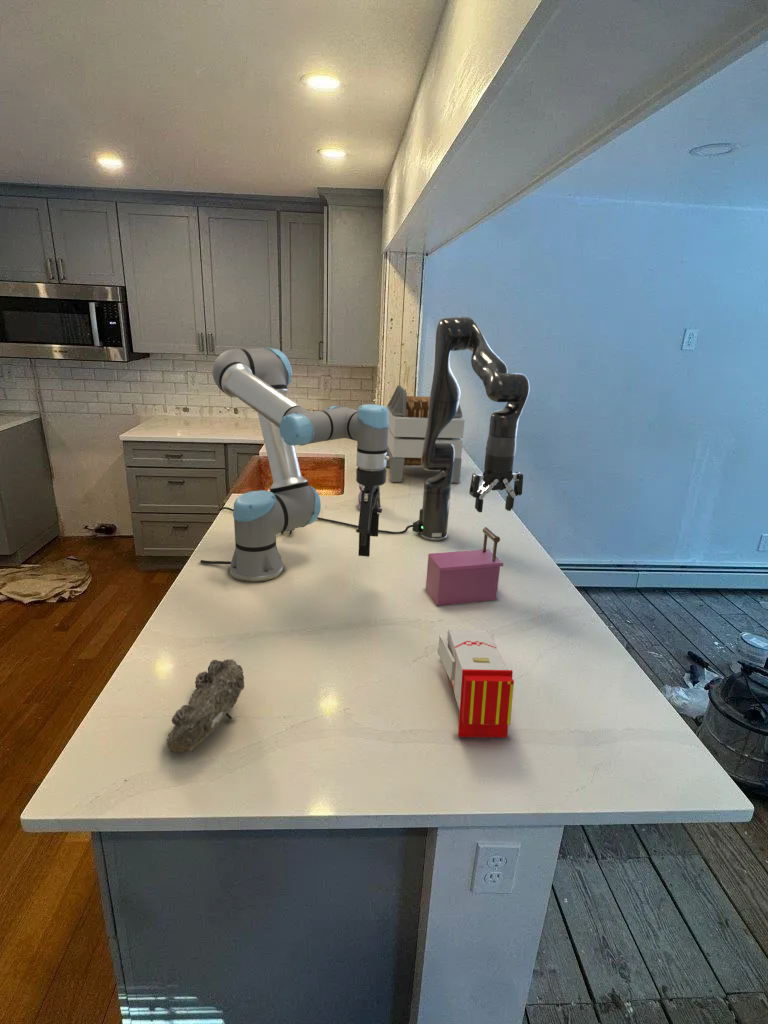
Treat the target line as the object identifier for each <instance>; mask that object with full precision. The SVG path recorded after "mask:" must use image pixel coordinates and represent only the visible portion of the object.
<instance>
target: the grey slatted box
mask: <svg viewBox="0 0 768 1024" xmlns="http://www.w3.org/2000/svg"><path fill="white" fill-rule="evenodd" d="M407 394H408V393H407V390H406V389H404V388H403V387H402V385H399V384H398V385H397V386H396V388H395V390H394V392H393V394H392V395H391V398H390V400H389V402H388V404H387V405H386V408H387V409H388V413H389V428H388V443H387V454H386V456H389V459H388V460H387V463H386V467H388V468H389V475H388V476H389V477H388V478H389V480H390V482H391V483H402V482H403V475H404V469H405V466H406V467H407V466H411V467H412V466H413V467H415V466H416V467H417V466H418V467H422V464H421V455H422V449H423V444H424V439H425V434H426V429H427V422H428V412H429V402H430V396H415V395H414V396H413V395H412V396H411V395H407ZM464 429H465V419H464V418H463V411H462V408H461V405H460V404H459V407H458V411H457V414H456V415H455V417H454V418H453V419H452V420H451V422H450V423H449V424H448V425H447V426H446V427H445V428H444V429H443V430H442V431H441V433H440V434H439V436H438V438H437V440H436V442H435V443H449V444H452V445H453V446H454V449H455V460H454V467H453V474H452V483H451V484H455V483H456V484H459V483H461V472H462V461H463V460H462V453H463V442H464V441H463V440H462V439H463V438H464V431H465V430H464ZM439 473H441V471H439Z"/></svg>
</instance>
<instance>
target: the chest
mask: <svg viewBox="0 0 768 1024" xmlns="http://www.w3.org/2000/svg"><path fill="white" fill-rule="evenodd" d="M500 572H501V567H490V568H478V569H466V570H454V571H442V572H440V571H439V570H438V568H437V567H436V566H435V565H434V564H433V562H432V561H431V560H430V559H429V557H428V556H427V568H426V581H425V591H426V592H427V593H428V595H429V597H430V598H431V599H432V601H433V602H434V603H435V605H436V606H437V607H439V606H449V605H458V604H466V603H467V604H468V603H477V602H486V601H487V602H489V601H496V600H497V595H498V587H499V580H500Z"/></svg>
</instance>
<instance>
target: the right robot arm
mask: <svg viewBox="0 0 768 1024" xmlns="http://www.w3.org/2000/svg"><path fill="white" fill-rule="evenodd" d="M467 350H469V351H471V352H472V353H471V356H470V364H471V365H470V366H471V368H472V370H473V372H474V373H475V375H477V377H478V378H479V379H480V380H481V381H482V384H483V387H484V389H485V393H486V397H488V399H490V401H492V402H494V403H506V404H505V406H504V407H503V408H502V409H498V410H496V411H493V412H492V413H491V414H490V419H489V429H488V437H487V441H486V447H485V456H484V465H483V466H484V468H483V469H484V471H483V473H482V474H477V473H475V472H473V473H472V474H471V479H470V485H469V486H470V487H469V492H468V493H469V495H470V496H472V498H475V500H474V501H475V503H474V508H475V511H476V512H478V513H483V508H484V498H485V497H486V495H488V494H489V493H490V492H491V491H505V492H506V494H507V495H506V497H505V506H504V509H505V510H506V511H507V512H511V511H512V510H513V508H514V503H515V498H516V497H518V496H522V494H523V485H524V475H523V473H521V472H519V471H515V472H513V471H514V466H515V458H516V452H517V451H516V450H517V435H518V426H519V420H520V417H521V415H522V413H523V410H524V408H525V405H526V402H527V400H528V398H529V394H530V382H529V379H528V377H527V376H526V375H525V374H523V373H508V367H507V365H506V363H505V362H504V361H503V360H502V359H501V358H500V357H499V356H498V355H497V354H496V353H495V352H494V351H493V350H492V349H491V347H490V345H489V344H488V342H487V340H486V338H485V336H484V334H483V333H482V331H481V329H480V327H479V325H478V324H477V322H475V320H474V319H472V318H471V317H468V316H458V317H457V316H455V317H443V318H441V319H440V320H439V322H438V323H437V326H436V331H435V345H434V364H433V374H432V381H431V387H430V395H429V397H430V402H429V412H428V422H427V429H426V434H425V439H424V444H423V449H422V455H421V464H422V466H421V467H422V469H423V470H424V471H432V472H436V471H437V472H439V473H438V474H436V475H435V476H432V477H429V478H427V479H425V480H424V482H423V493H422V496H423V497H422V506H421V508H420V509H419V516H418V520H416V521H414V522H412V524H408V525H407V526H406V527H405V528H404V530H402V531H390V530H381V529H378V533H382V534H383V533H384V534H389V535H400V534H405V533H407V531H408V530H409V529H410V528H412V530H411V531H412V532H414V533H417V535H418V536H420V538H421V539H424V540H426V541H432V542H440V541H444V540H446V539H447V538H448V525H449V517H450V516H449V514H450V504H451V494H452V493H451V491H452V484H453V483H452V474H453V467H454V460H455V449H454V446H453V445H452V444H449V443H435V442H436V440H437V438H438V436H439V434H440V433H441V431H442V430H443V429H444V428H445V427H446V426H447V425H448V424H449V423H450V422H451V420H452V419H453V418H454V417H455V415H456V414H457V411H458V407H459V405H460V400H461V393H462V392H461V388H460V385H459V382H458V381H457V379H456V377H455V375H454V374H453V371H452V369H451V364H450V357H451V352H455V351H456V352H457V351H467ZM440 471H441V472H440ZM512 480H513V482H514V483H513V487H512V485H511V484H510V483H511V481H512ZM482 481H483V482H482ZM481 482H482V484H481V485H480V483H481ZM223 510H228V511H230V512H234V508H230V507H227V506H222V507H220V508H219V509H218V511H219V512H221V511H223ZM317 520H319V521H324V522H329V523H334V524H339V525H344V526H348V527H352V528H356V529H358V524H357V525H356V524H352V523H348V522H344V521H338V520H333V519H329V518H322V517H319V516H318V518H317Z"/></svg>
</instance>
